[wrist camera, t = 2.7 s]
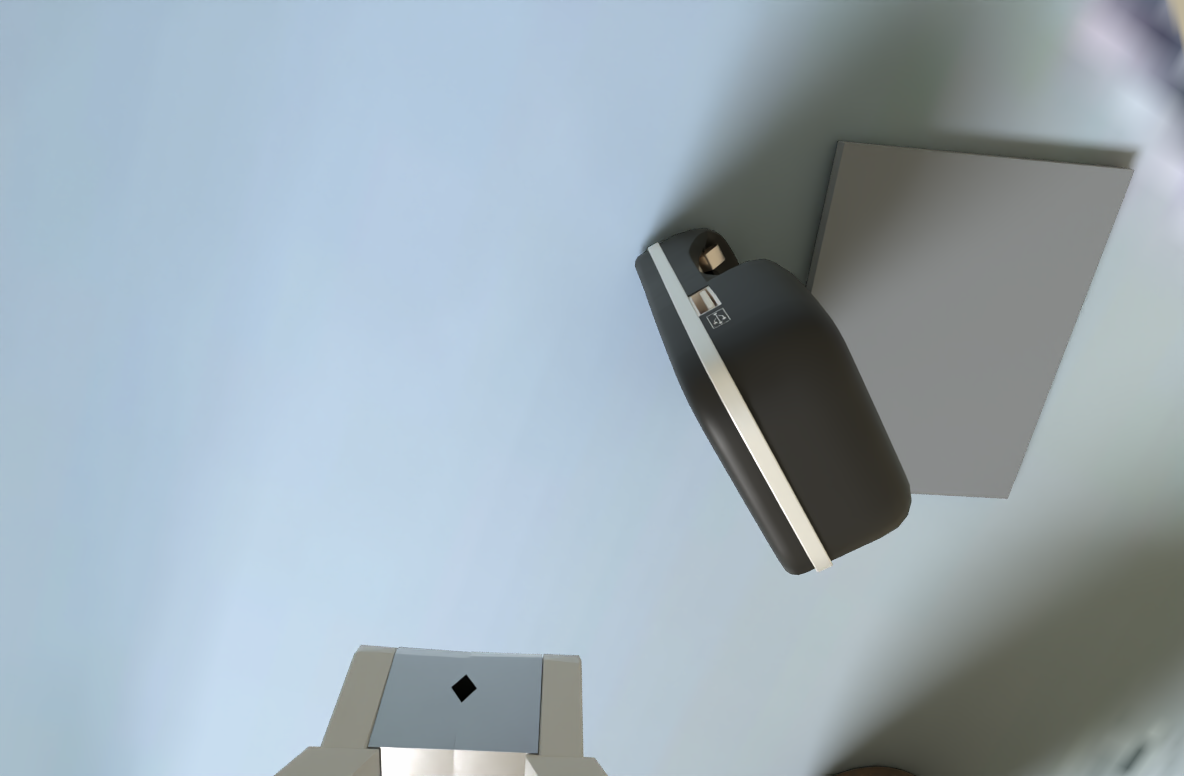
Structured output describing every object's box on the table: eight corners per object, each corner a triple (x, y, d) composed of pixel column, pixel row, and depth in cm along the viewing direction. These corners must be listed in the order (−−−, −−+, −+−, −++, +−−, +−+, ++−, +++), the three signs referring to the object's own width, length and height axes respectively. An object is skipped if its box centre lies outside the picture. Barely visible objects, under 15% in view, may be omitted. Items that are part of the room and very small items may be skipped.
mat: (763, 478, 30) (767, 486, 29) (838, 140, 24) (844, 142, 24) (999, 490, 30) (1007, 498, 30) (1121, 167, 25) (1134, 170, 25)
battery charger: (804, 358, 28) (957, 545, 17) (713, 406, 28) (807, 614, 18) (725, 194, 25) (849, 300, 14) (626, 251, 25) (677, 390, 15)
